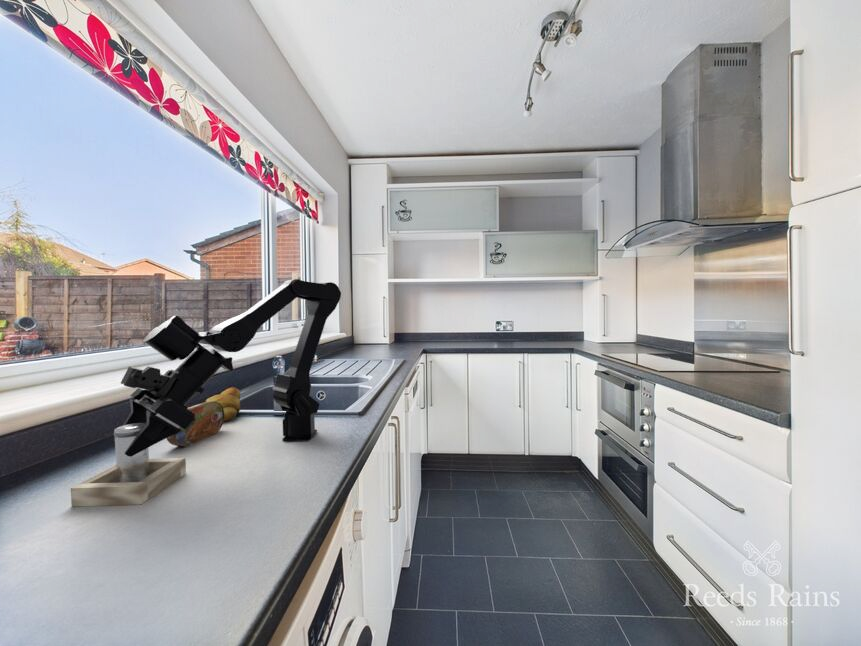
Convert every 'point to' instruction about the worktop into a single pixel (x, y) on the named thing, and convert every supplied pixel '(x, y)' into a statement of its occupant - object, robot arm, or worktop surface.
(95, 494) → the collar
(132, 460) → the silver metal canister
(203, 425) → the tin
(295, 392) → the robot arm
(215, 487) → the worktop surface
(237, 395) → the bread roll
